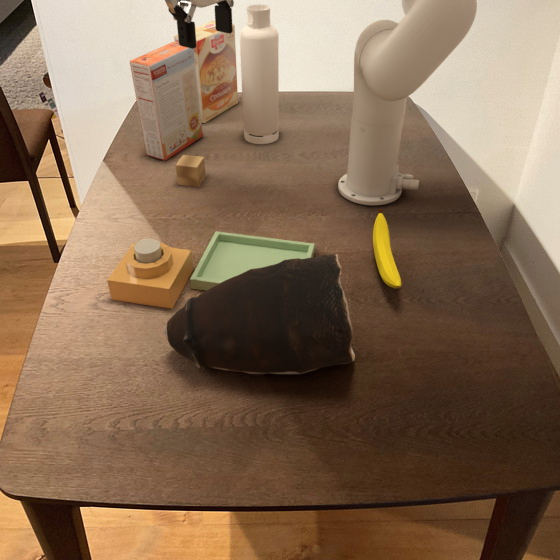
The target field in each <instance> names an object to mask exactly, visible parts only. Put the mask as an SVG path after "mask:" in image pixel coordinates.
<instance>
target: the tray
mask: <svg viewBox="0 0 560 560" xmlns="http://www.w3.org/2000/svg"><path fill="white" fill-rule="evenodd" d="M315 247H316V243H313V242H306V241H305V242H303V241H297V240H287V239H281V238H275V237H274V238H272V237H265V236H257V235H249V234H241V233H233V232H226V231H225V232H224V231H217V230H216V231H215V232H214V234H213V235H212V237H211V239H210V241H209V242H208V245H207V247H206V249H205V250H204V252H203V254H202V255H201V258H200V260H199V262H198V264H197V265H196V267H195V269H194V270H193V272H192V273H191V275H190V277H189V281H190V289H192V290H199V291H204V292H205V291H207V290H209V289H210V288H212V287H214V286H216V285H218V284H220V283H221V282H223V281H225V280H227V279H230V278H232V277H235V276H237V275H240V274H242V273H244V272H246V271H248V270H250V269H255V268H262V267H266V266H270V265H275V264H277V263H280V262H282V261H283V260H288V259H296V258H300V259H305V258H312V257H315V256H314V255H315V251H316V250H315Z"/></svg>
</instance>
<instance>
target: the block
mask: <svg viewBox="0 0 560 560" xmlns="http://www.w3.org/2000/svg"><path fill="white" fill-rule="evenodd" d="M175 172H176V179H177V185H178V186H183V187H184V186H185V187H195V188H200V186H202V183H203V182H204V181H205V179H206V178H207V174H206V173H207V172H206V163H205V157H204V156H198V155H190V154H189V155H188V154H182V156H181V157H180V158H179V159H178V161H177V162H176V164H175Z"/></svg>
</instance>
